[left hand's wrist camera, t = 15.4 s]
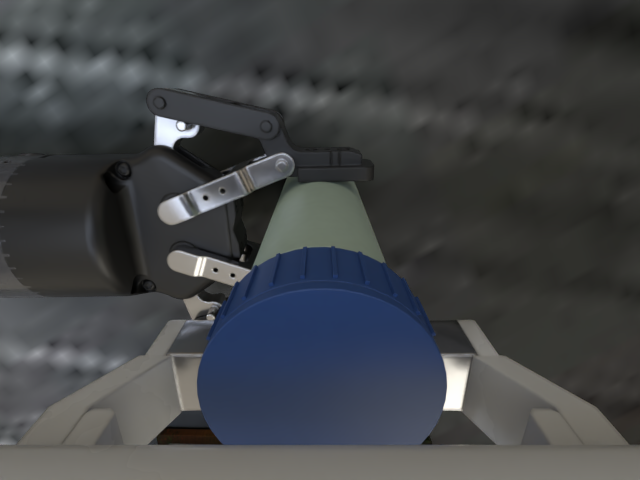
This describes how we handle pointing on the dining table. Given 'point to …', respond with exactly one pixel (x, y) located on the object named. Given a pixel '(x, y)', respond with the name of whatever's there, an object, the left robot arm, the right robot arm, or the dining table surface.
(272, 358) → the lid
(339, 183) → the jar
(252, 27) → the dining table surface
